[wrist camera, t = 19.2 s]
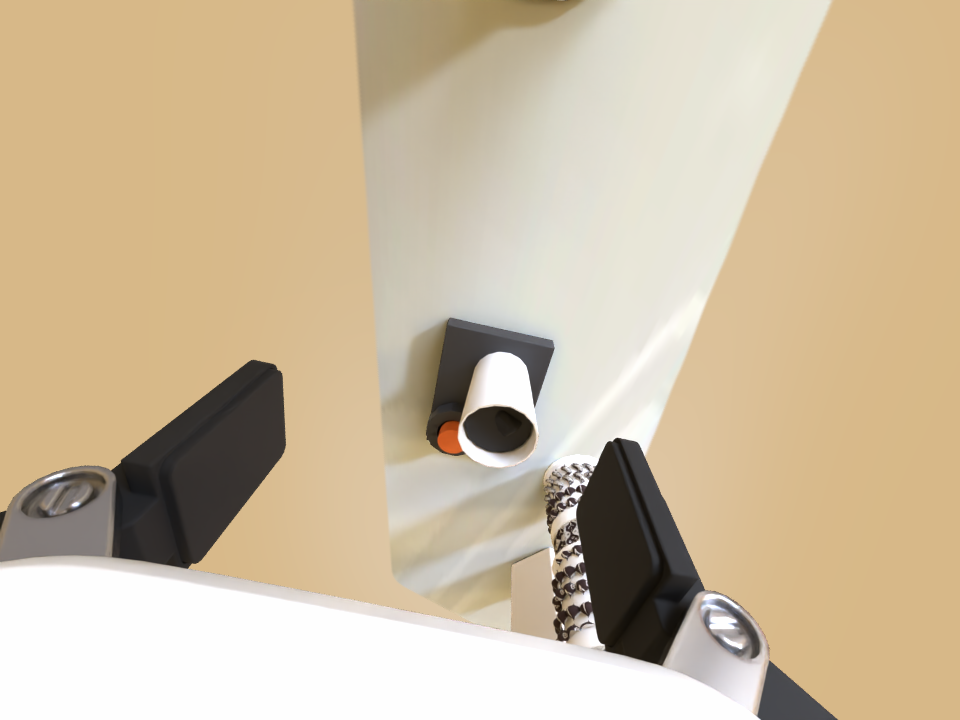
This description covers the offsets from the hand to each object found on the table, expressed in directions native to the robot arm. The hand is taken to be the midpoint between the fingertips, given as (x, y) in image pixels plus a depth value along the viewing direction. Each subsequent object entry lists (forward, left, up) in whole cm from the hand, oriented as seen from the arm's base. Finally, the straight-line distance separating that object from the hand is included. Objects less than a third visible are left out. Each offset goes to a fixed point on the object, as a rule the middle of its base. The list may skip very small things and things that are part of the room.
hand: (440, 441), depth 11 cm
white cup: (+13, +4, -26) cm, 30 cm away
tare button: (+20, 0, -25) cm, 32 cm away
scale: (+16, +3, -28) cm, 32 cm away
